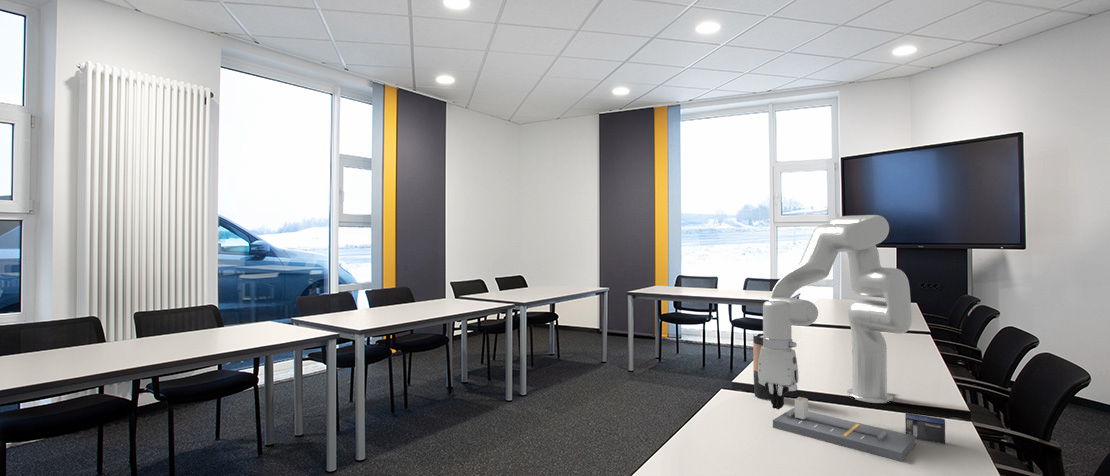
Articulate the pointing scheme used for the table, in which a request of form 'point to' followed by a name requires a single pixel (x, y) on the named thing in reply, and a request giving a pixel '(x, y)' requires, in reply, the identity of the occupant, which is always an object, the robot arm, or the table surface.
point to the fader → (801, 408)
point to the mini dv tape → (925, 427)
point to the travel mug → (758, 388)
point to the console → (848, 434)
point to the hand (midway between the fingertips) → (777, 407)
